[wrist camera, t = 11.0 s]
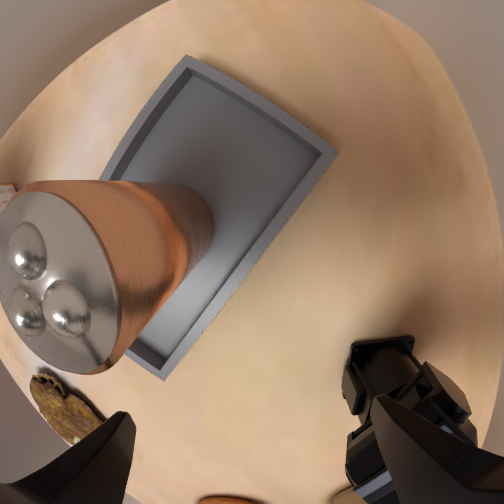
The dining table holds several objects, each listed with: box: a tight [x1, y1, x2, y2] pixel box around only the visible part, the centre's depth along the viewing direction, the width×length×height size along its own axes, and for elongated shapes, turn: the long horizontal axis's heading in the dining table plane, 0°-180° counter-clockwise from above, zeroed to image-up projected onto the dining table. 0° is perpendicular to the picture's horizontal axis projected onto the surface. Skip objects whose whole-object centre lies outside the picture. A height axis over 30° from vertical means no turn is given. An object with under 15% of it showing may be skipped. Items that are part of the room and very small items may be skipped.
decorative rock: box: [30, 372, 103, 445], centre depth 24 cm, size 11×4×15 cm
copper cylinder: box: [0, 180, 214, 375], centre depth 12 cm, size 6×6×14 cm
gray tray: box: [99, 55, 339, 381], centre depth 19 cm, size 13×22×2 cm, turn 144°
